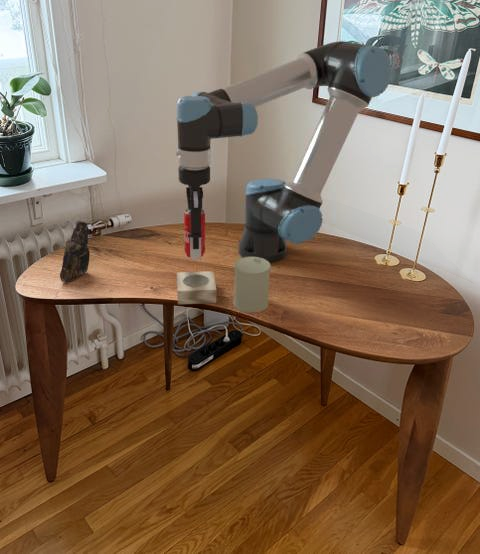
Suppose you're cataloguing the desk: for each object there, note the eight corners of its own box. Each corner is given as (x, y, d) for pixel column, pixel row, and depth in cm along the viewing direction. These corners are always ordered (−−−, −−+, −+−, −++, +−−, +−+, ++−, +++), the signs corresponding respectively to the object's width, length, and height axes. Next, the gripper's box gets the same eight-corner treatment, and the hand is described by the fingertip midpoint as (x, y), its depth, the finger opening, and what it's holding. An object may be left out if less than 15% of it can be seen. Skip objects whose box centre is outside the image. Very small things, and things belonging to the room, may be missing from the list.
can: (272, 298, 139) (275, 258, 133) (262, 316, 132) (264, 274, 126) (240, 291, 142) (241, 252, 136) (228, 308, 134) (229, 267, 128)
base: (213, 283, 145) (213, 271, 143) (216, 302, 136) (216, 289, 134) (177, 285, 144) (176, 272, 142) (177, 304, 135) (177, 291, 133)
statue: (54, 281, 144) (46, 231, 136) (83, 264, 153) (77, 216, 146) (70, 286, 142) (62, 236, 134) (98, 268, 151) (92, 220, 144)
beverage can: (202, 260, 132) (201, 216, 126) (182, 257, 133) (181, 213, 127) (207, 251, 136) (207, 208, 130) (188, 249, 137) (187, 206, 131)
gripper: (177, 154, 131) (179, 239, 142) (179, 177, 115) (181, 270, 126) (207, 154, 131) (207, 238, 143) (213, 177, 116) (212, 270, 127)
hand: (195, 253), depth 134 cm, fingers closed on beverage can, 5 cm apart
